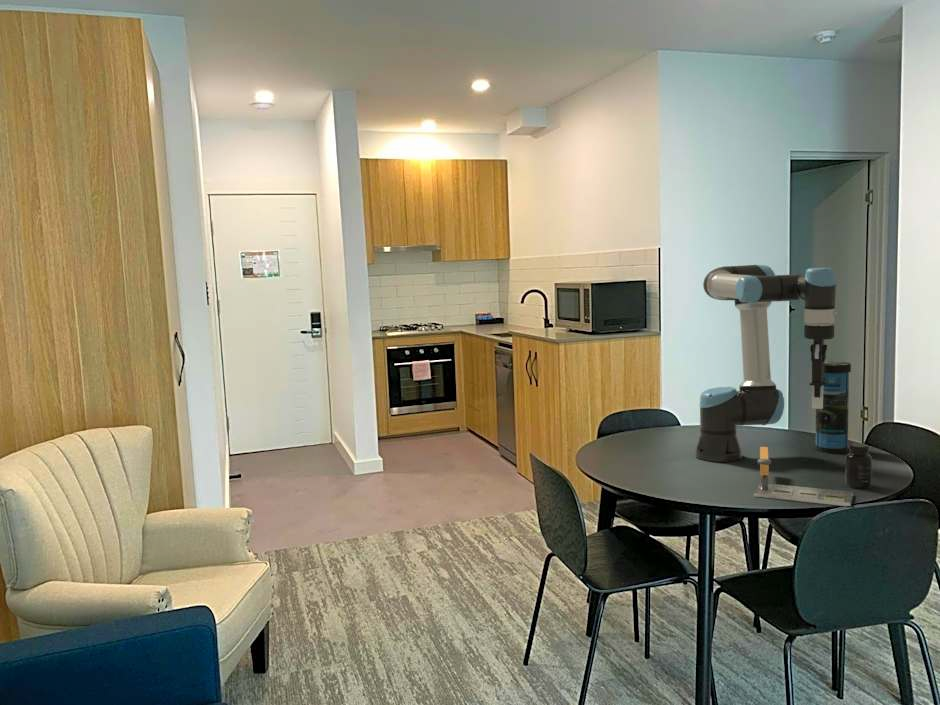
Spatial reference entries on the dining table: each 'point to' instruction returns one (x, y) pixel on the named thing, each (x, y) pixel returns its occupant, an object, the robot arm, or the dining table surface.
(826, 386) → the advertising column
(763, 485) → the tray
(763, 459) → the swing arm
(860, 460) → the supplement bottle
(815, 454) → the dining table surface
